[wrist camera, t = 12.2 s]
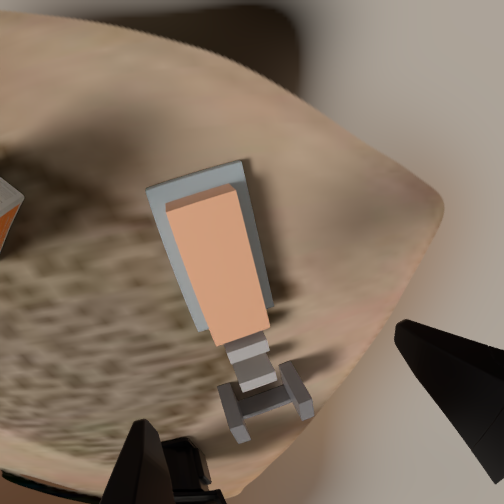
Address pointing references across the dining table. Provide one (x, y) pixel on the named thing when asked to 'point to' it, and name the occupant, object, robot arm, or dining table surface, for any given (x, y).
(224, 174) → the mat
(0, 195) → the skincare box
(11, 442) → the dining table surface
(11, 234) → the dining table surface
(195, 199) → the bar
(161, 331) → the dining table surface
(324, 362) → the dining table surface
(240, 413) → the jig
